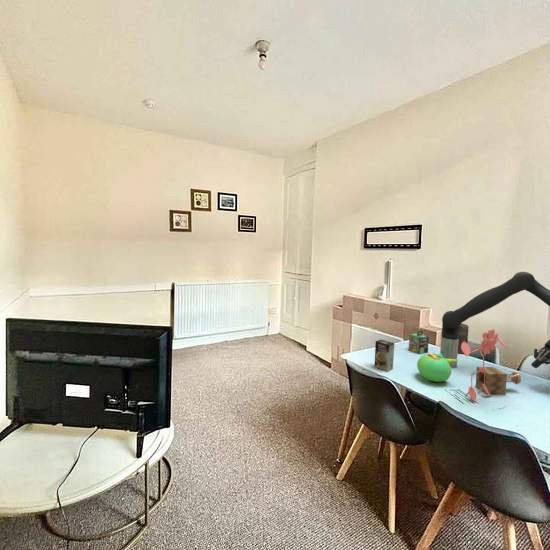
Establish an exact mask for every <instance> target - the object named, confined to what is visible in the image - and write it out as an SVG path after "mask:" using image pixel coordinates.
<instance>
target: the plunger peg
mask: <svg viewBox="0 0 550 550" xmlns="http://www.w3.org/2000/svg"><path fill="white" fill-rule="evenodd" d="M506 374H507V380H506V383H513V384H515V385H518V384H520V383H521V382H522V379H521V375H520V373H518V372H516V371H513V372H511V373H506Z"/></svg>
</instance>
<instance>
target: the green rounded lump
mask: <svg viewBox="0 0 550 550" xmlns="http://www.w3.org/2000/svg"><path fill="white" fill-rule="evenodd" d="M458 361H459V360H458V359H457V360H456V359H446V358H443V356H442V354H441V353H440V352H439V353H438V354H436V353H431V352H428V353H424V354H422V355H420V357H419V358H418V359H417V362H416V366H417V370H418V373H419V374H420V375H421V376H422V377H423V378H424V379H427V380H429V381H432V382H436V383H441V382H445V381H446V380H448V379H449V378H450V377H451V375H452V367H451V366H450V363H454V362H457V363H458Z"/></svg>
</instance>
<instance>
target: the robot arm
mask: <svg viewBox="0 0 550 550" xmlns="http://www.w3.org/2000/svg"><path fill="white" fill-rule="evenodd" d="M523 291H526V292H529V293H531V294H532V295H533V296H535V297H537V298H538V300H540V301H542V302H543V303H545V304H546V305H547V306H548V307H550V289H548V288H547V287H546V286H543V284H541V283H540V282H539V281H537V280H536V279H535V277H534V275H533V274H532V273H530V272H529V271H528V272H527V271H520V272H519V271H518V272H516V273H515V274H514V275H513V277H511V278H510V279H508V280H506V282H504V283H502V284H500V285H498V286H495V287H492V288H490V289H487V290H485V291H483V292H481V293H480V294H478V295H476V296H475V297H472V298H471V299H470V300H469V301H467V302H466V303H465V304H464V305H463V306H461V307H459V308H458V309H457V308H456V309H455V310H448V311H446V312H445V313H444V314H443V316H442V318H441V322H442V324H441V325H442V326H441V336H440V337H441V339H440V350H439V353H441V354H442V356H443V358H446V359H456V360H458V354H459V353H458V339H459V326H460V324H461V323H462V324H463V322H465V321H467V320H468V319H470V318H473V317H475V316H477V315H479V314H481V313H483V312H485V311H487V310H490V309H492V308H493V307H495V306H497V305H499V304H500V303H501V302H504V301H505V300H506V299H508V298H509V297H511V296H514V295H515V294H518V293H520V292H523ZM533 358H534V361H532V362H531V364H530V365H531V367H533V368H534V369H537V368H540V366H542V365H544V364H545V365H550V339H548V340H547V341H546V342H544V346H543V347H540V349H537V348H534V350H533ZM457 364H458V361H457V362H454V363H450V366H451V368H456V367H457V366H458V365H457Z"/></svg>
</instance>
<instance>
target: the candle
mask: <svg viewBox="0 0 550 550" xmlns="http://www.w3.org/2000/svg"><path fill="white" fill-rule="evenodd" d="M463 341H465V342H466V343H467V344H468V341H469V325H468V324H465V323H463V322H462V323H461V324H460V326H459V339H458V353H457V354H464V353H463V351H462V349H461V345H462V343H463ZM468 345H469V344H468Z"/></svg>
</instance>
